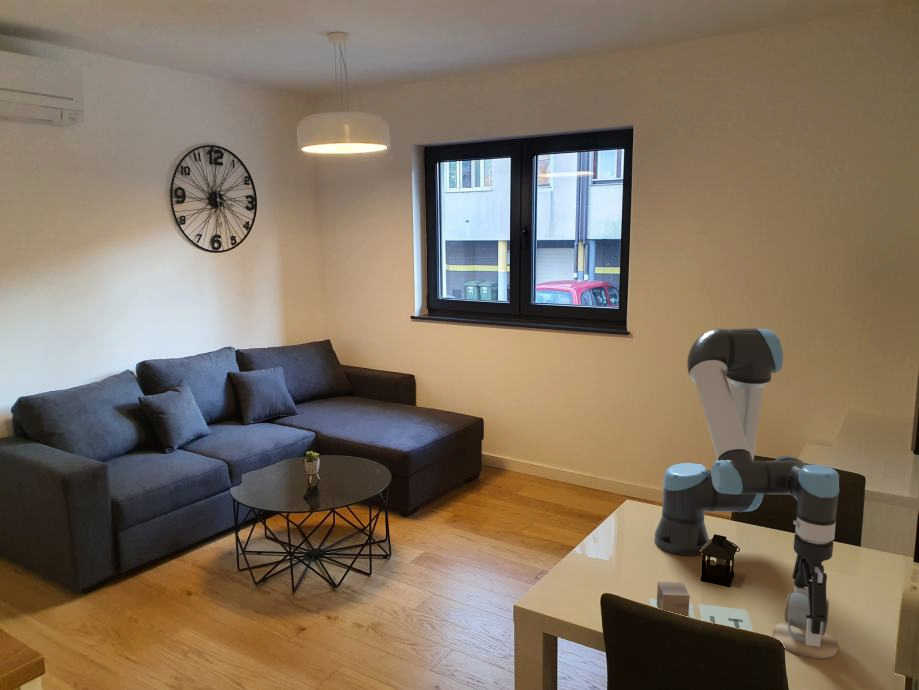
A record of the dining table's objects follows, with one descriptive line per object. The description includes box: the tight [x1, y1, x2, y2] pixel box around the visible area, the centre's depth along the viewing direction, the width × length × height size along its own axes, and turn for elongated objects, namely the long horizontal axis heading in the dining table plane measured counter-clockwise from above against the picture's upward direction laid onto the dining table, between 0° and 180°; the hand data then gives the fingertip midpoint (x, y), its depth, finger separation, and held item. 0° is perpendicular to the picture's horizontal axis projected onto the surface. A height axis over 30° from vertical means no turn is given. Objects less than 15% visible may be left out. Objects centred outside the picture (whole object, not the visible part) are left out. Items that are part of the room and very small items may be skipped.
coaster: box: [772, 621, 839, 660], centre depth 150 cm, size 13×13×1 cm
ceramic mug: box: [783, 592, 830, 642], centre depth 149 cm, size 11×8×8 cm
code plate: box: [698, 603, 755, 633], centre depth 157 cm, size 14×11×1 cm
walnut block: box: [656, 581, 690, 616], centre depth 161 cm, size 6×6×6 cm
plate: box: [649, 597, 696, 619], centre depth 162 cm, size 10×10×1 cm
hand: (805, 629), depth 150 cm, fingers closed on ceramic mug, 11 cm apart
